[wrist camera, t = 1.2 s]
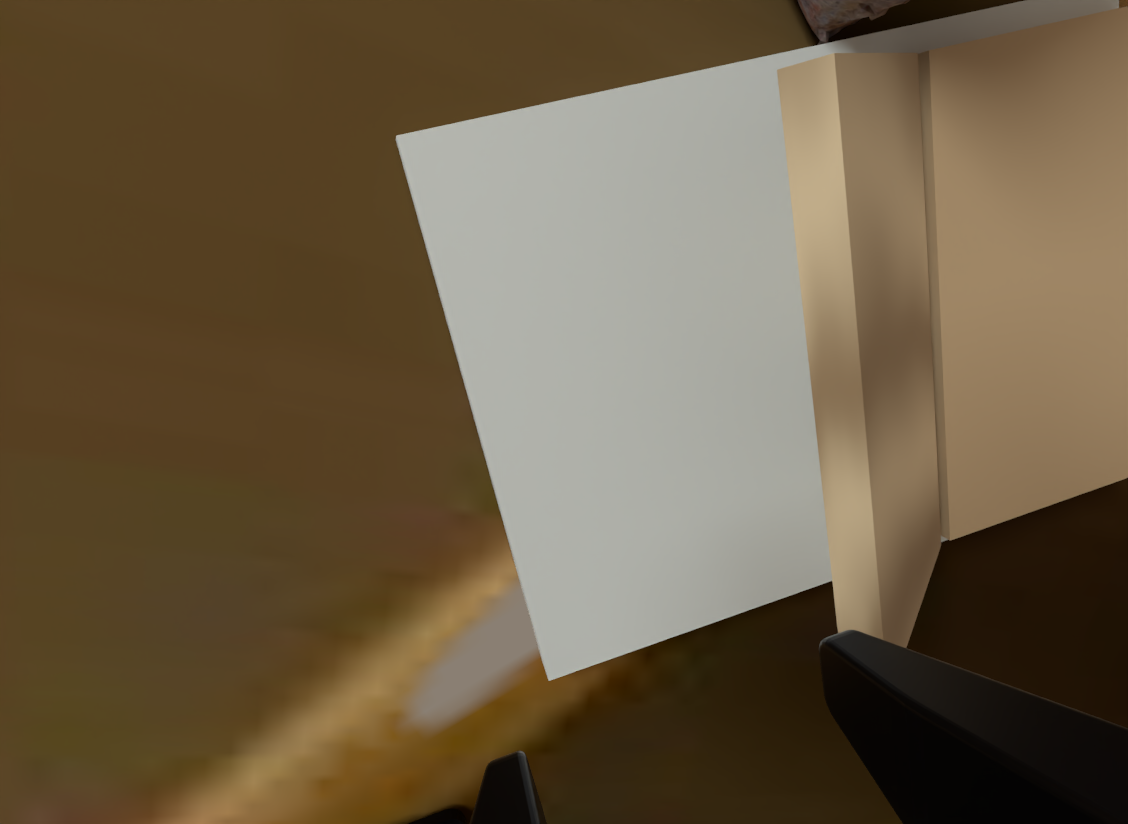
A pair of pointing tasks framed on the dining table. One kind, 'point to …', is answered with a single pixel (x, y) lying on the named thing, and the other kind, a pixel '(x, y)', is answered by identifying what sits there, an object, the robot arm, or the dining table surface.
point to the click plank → (867, 326)
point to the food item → (841, 14)
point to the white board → (771, 315)
